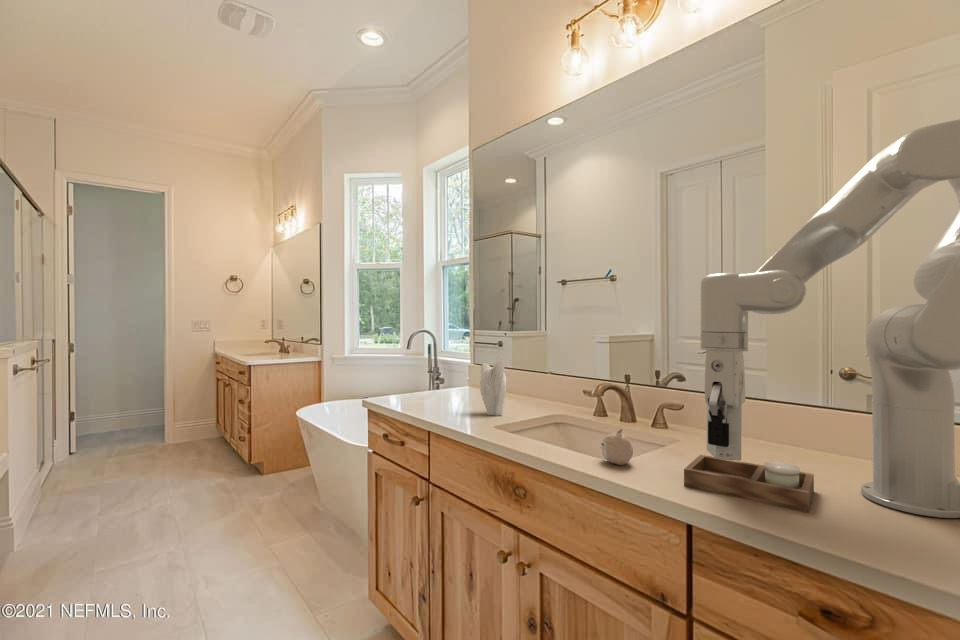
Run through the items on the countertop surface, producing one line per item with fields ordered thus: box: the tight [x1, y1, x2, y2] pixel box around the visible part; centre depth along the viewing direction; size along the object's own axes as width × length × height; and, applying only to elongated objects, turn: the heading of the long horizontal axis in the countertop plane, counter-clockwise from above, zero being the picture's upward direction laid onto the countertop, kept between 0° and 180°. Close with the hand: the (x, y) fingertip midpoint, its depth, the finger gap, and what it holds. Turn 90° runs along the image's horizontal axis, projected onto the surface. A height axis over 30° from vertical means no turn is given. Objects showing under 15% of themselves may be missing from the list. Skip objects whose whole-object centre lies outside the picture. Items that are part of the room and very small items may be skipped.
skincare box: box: [706, 392, 743, 461], centre depth 81 cm, size 6×4×12 cm
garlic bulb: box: [600, 428, 634, 466], centre depth 94 cm, size 7×6×8 cm
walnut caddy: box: [683, 454, 815, 513], centre depth 79 cm, size 18×11×3 cm, turn 50°
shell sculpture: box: [479, 358, 507, 417], centre depth 142 cm, size 8×8×18 cm
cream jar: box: [763, 461, 801, 489], centre depth 76 cm, size 5×5×4 cm
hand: (723, 440), depth 81 cm, fingers closed on skincare box, 7 cm apart
